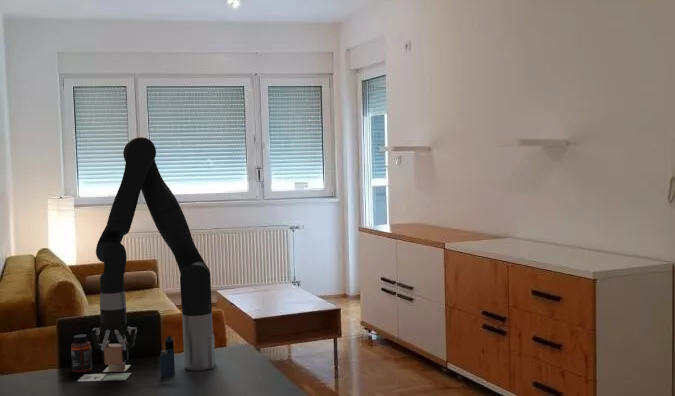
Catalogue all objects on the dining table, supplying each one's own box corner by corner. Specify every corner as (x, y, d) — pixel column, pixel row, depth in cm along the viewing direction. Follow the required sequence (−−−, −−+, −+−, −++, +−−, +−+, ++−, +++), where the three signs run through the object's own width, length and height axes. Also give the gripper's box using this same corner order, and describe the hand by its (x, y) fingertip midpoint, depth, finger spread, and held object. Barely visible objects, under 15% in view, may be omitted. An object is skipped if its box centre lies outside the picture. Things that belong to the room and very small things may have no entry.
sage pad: (131, 374, 235) (131, 372, 235) (125, 381, 228) (125, 379, 228) (108, 374, 235) (108, 373, 235) (102, 381, 228) (102, 380, 228)
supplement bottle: (95, 368, 243) (93, 333, 242) (87, 373, 237) (85, 337, 237) (77, 368, 244) (75, 333, 243) (69, 373, 238) (67, 338, 237)
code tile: (107, 374, 235) (107, 373, 235) (100, 381, 228) (100, 380, 228) (84, 375, 235) (84, 374, 235) (76, 382, 228) (76, 381, 228)
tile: (131, 366, 244) (131, 364, 244) (125, 372, 237) (125, 371, 237) (109, 366, 244) (109, 365, 244) (102, 373, 237) (102, 372, 237)
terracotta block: (126, 359, 234) (125, 343, 234) (121, 364, 229) (120, 347, 229) (109, 359, 234) (109, 343, 234) (104, 364, 229) (104, 348, 229)
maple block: (125, 365, 244) (124, 350, 244) (125, 369, 239) (124, 354, 239) (108, 367, 242) (108, 351, 242) (108, 371, 238) (107, 355, 237)
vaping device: (176, 374, 234) (175, 335, 233) (166, 379, 229) (164, 339, 228) (169, 373, 235) (168, 335, 234) (159, 378, 230) (157, 339, 229)
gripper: (140, 303, 234) (142, 357, 235) (93, 304, 234) (95, 358, 236) (133, 308, 227) (135, 364, 228) (85, 309, 227) (87, 365, 228)
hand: (115, 361), depth 232 cm, fingers closed on terracotta block, 5 cm apart
